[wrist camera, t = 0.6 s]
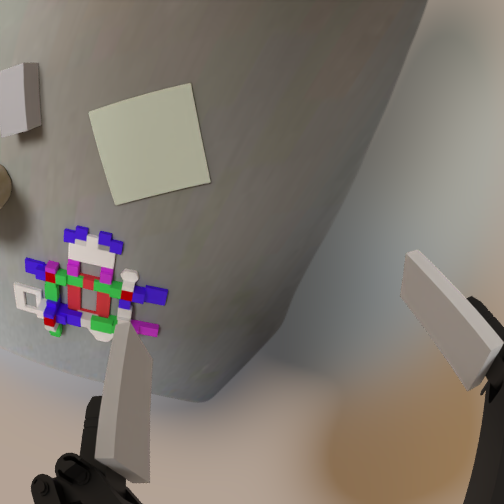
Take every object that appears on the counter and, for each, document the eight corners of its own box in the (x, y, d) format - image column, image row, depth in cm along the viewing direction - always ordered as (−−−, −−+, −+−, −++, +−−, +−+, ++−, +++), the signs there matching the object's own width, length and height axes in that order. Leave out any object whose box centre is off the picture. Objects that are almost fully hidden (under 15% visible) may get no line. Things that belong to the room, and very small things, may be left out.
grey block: (17, 130, 29) (1, 137, 25) (13, 71, 25) (-4, 72, 21) (42, 124, 29) (27, 130, 26) (39, 62, 25) (23, 62, 22)
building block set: (178, 246, 41) (177, 264, 38) (154, 348, 50) (153, 368, 47) (12, 208, 34) (-3, 222, 30) (21, 316, 43) (12, 334, 39)
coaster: (90, 111, 30) (88, 112, 29) (190, 82, 31) (190, 82, 30) (116, 203, 36) (115, 205, 36) (210, 180, 37) (210, 182, 36)
